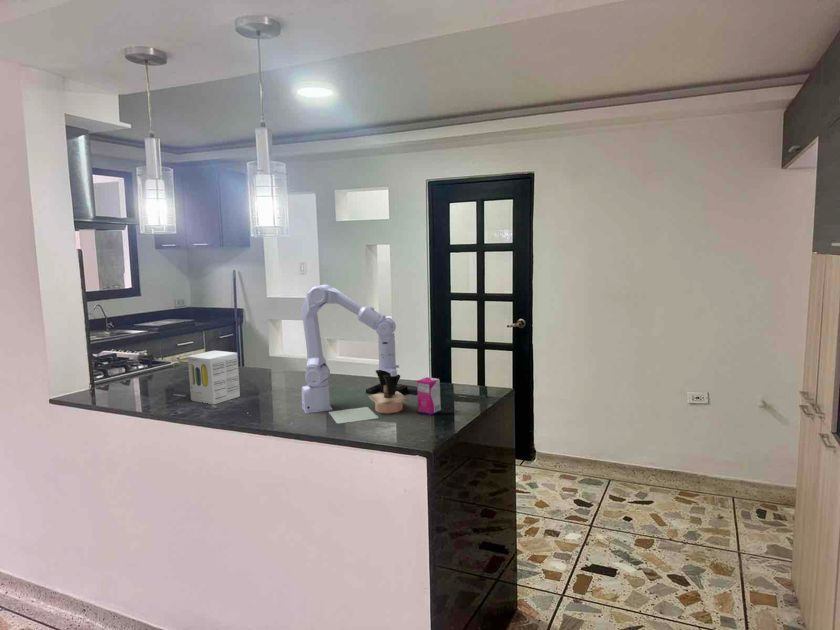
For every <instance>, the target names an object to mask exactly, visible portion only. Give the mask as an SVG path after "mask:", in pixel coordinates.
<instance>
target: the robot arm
mask: <svg viewBox="0 0 840 630" xmlns="http://www.w3.org/2000/svg"><path fill="white" fill-rule="evenodd" d="M326 304H327V305H328V304H334V305H335V304H336V305H339V306H341V307H342V308H344V309H346V310H348V311H350V312H352V313H353V314H354V315H356V316H357V319H358V321H360V322H361V323H363V324H364V325H365V326H367V327H369V328H371V329H373V330H374V331H375V332H376V333H377V335H378V342H377V343H378V369H376V370H375V374H376V375H377V377H378V380H379V384H380V385H381V388H382V390H384V385H387V391H388V395H389V396H390V395H395V392H396V387H397V384H399V381H400V379H401V375H400V374H398V370H397V369H398V368H400V365H399V364H397V362H396V339H395V333H394V332H395V331H396V327H397V325H396V322H395V321H394V320H393V319H392V318H391V317H387V316H386V315H385V314H383V315H382V314H381V313H380V312H378V311H376V310H375V307H374V306H368V305H367V306H366V305H365V306H362V305H360V304H359V303H357V302H356V301H354V300H353V299H352V298H350V297H349V296H347V295H346V294H344V293H343V292H342V291H340V290H339V289H337V288H335V287H333V286H331V285H330V284H326V283H325V284H321V285H316V286H313V287H312V288H311V289H310V290H308V291H307V292H306V296H305V299H304V302H303V304H302V306H301V316H302V323H303V331H304V338H305V345H306V346H305V347H306V353H307V362H306V366H305V367H306V372H305V374H304V378H305V379H304V380H305V382H306V383H307V385H303V386H301V408H302V410H303V411H304V414H311V413H318V412H327V411H332V410H333V407H332V406H331V404H330V388H329V381H328V378H329V377H330V375H331V372H330V367H329V366H328V364H327V360H326V358H325V357H324V352H323V346H322V338H321V331H320V323H319V317H318V312H319V311H320V309H322V307H324V306H325V305H326ZM333 411H334V410H333Z"/></svg>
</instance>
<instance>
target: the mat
mask: <svg viewBox="0 0 840 630" xmlns="http://www.w3.org/2000/svg"><path fill="white" fill-rule="evenodd" d="M328 413H329V415H330V416H331V417H332V419H333V420H334V421H335V423H336V424H346V423H352V422H359V421H361V422H362V421H367V420H373V419H379V416H378V415H376V413H375V412H374V411H372V410H371V409H370V408H369V406H363V407H357V408H348V409H342V410H333V411H332V410H331V411H328Z"/></svg>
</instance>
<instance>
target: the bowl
mask: <svg viewBox="0 0 840 630" xmlns="http://www.w3.org/2000/svg"><path fill="white" fill-rule="evenodd" d="M403 406H404V405H403V402H398V403H391V404H383V405H377V404H376V403H375V402H374V409H375V411H376V412H377V413H382V414H393V413H395V414H396V413H399V412H400V411H402V410H403Z"/></svg>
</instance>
